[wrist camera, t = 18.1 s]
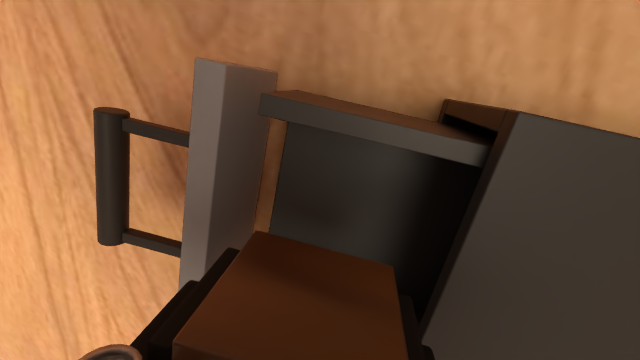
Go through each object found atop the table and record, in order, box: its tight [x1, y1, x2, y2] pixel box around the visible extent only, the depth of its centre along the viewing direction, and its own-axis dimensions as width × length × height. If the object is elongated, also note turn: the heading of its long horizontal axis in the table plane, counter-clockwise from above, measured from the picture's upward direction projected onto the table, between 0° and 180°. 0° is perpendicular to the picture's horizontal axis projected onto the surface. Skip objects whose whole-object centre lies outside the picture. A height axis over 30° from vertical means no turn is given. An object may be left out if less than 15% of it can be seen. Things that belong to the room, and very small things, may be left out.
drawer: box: [93, 58, 497, 327], centre depth 16 cm, size 21×13×7 cm, turn 78°
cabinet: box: [418, 99, 640, 360], centre depth 15 cm, size 17×15×9 cm
